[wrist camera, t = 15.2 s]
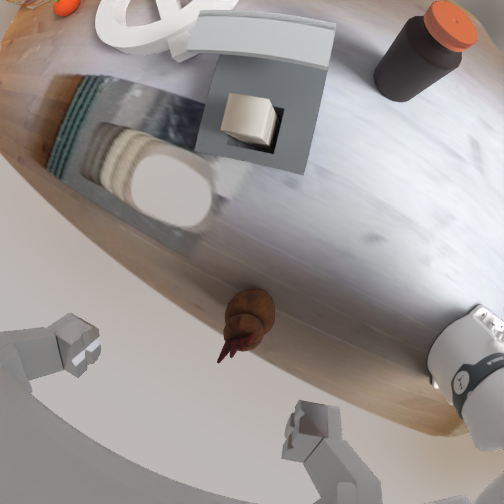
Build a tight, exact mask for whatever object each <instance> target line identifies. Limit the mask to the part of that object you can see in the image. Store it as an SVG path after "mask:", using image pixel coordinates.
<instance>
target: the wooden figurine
mask: <svg viewBox="0 0 504 504" xmlns="http://www.w3.org/2000/svg"><path fill="white" fill-rule="evenodd" d="M274 320H275V306H274V302H273V299H272V297H271V296H270V295H269V294H268V293H267V292H265V291H262V290H259V289H249V290H245V291H242V292H239V293H237V294H236V295H235V296H234V297H233V298H232V299H231V300H230V302H229V303H228V306H227V309H226V313H225V323H226V325H225V328H224V331H223V332H224V340H225V341H226V342H225V344H224V346H223V349H222V351H221V354H220V356H219V358H218V361H217V363H220V362H221V361H222V360H223V359H224V357H225V356H226V355H227V354H228V353H229V352H230V358H232V357H233V356H234V355H235V353H236V351H237V350H238V351H248V350H251V349H254V348H255V347H256V346H258V345H259V344H260V342H261V340H262V338H263V336H264V335H265V334H266V333H267V332H269V331H270V330H271V328H272V326H273V324H274Z"/></svg>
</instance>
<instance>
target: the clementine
mask: <svg viewBox="0 0 504 504" xmlns="http://www.w3.org/2000/svg"><path fill="white" fill-rule="evenodd" d="M79 3H80V0H55V3H54V7H53V10H54V12H55V14H56V15H58V16H67V15H69V14H71V13H72V12H74V11H75V10H76V9H77V8H78V6H79Z"/></svg>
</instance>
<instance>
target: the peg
mask: <svg viewBox="0 0 504 504" xmlns="http://www.w3.org/2000/svg"><path fill="white" fill-rule="evenodd" d="M279 124H280V122H279V120H278V118H277V115H276V113H275V111H274V109H273V106H272V104H271V102H270V100H269V99H265V98H259V97H253V96H247V95H240V94H232V93H230V94H229V98H228V102H227V106H226V109H225V113H224V117H223V121H222V125H221V131H223V132H225V133H227V134H229V135H231V136H232V137H234V138H236V139H238V140H240V141H241V142H243V143H245V144H249V145H254V146H259V147H263V148H268V149H272V150H273V149H274V144H275V140H276V136H277V132H278V128H279Z"/></svg>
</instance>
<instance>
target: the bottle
mask: <svg viewBox="0 0 504 504" xmlns="http://www.w3.org/2000/svg"><path fill="white" fill-rule="evenodd" d="M476 40H477V32H476V29H475V27H474V25H473V23H472V22H471V20H470V19H469V18H468V17H467V15H466V14H465V13H464V12H462V11H461V10H460V9H459V8H457V7H456V6H454V5H453V4H451V3H448V2H445V1H435V2H433V3H432V4H431V6H430V7H429V8H428V10H427V11H426V13H425V14H424V16H415V17H413V18H410V19H409V20H408V21H407V22H406V24H405V25H404V27H403V28H402V30H401V31H400V33H399V34H398V36H397V37H396V39H395V40H394V42H393V43H392V45H391V46H390V48H389V49H388V51H387V52H386V54H385V55H384V57H383V58H382V60H381V61H380V63H379V64H378V66H377V67H376V69H375V72H374V80H375V84H376V86H377V88H378V89H379V90H380V92H381V93H382V94H383V95H384V96H386V97H387V98H388V99H391V100H393V101H396V102H405V101H409V100H410V99H412V98H413V97H414V96H416V95H417V94H419V93H420V92H422V91H423V90H425V89H426V88H427V87H429V86H430V85H432V84H433V83H435V82H436V81H438V80H439V79H441V78H442V77H444V76H445V75H447V74H448V73H450V72H451V71H453V70H454V69H456V68H457V67H458V66H459V65H460V63H461V60H462V52H463V51H464V50H466V49H467V48H469V47H470V46H472V45H473V44H474V43H475V42H476Z"/></svg>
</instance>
